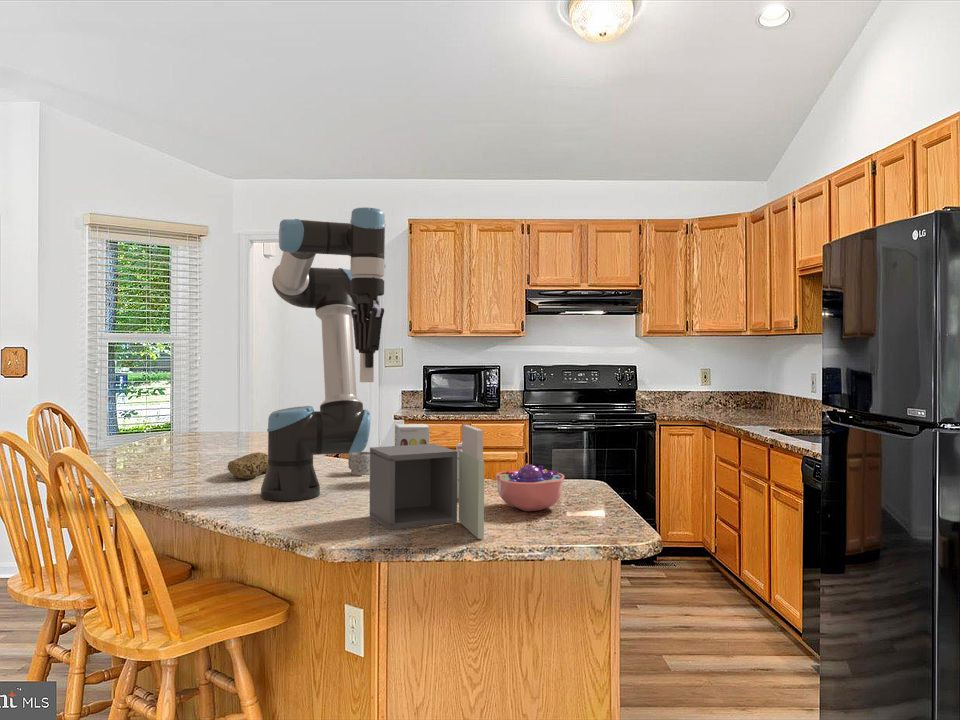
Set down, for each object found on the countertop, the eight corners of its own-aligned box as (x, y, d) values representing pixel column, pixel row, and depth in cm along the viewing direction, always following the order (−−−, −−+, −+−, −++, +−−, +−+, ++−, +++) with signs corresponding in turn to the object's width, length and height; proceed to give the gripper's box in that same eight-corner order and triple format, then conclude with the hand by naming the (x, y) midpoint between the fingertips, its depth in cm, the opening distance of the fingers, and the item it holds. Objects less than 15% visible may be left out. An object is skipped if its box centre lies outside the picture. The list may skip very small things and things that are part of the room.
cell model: (568, 502, 180) (569, 458, 180) (559, 520, 160) (560, 470, 160) (504, 498, 184) (504, 455, 184) (487, 515, 164) (487, 467, 164)
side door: (478, 538, 143) (478, 431, 142) (458, 521, 158) (459, 423, 157) (483, 538, 143) (484, 430, 143) (463, 520, 158) (464, 423, 158)
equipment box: (369, 515, 163) (369, 447, 163) (433, 509, 170) (433, 443, 170) (389, 529, 151) (389, 455, 150) (457, 522, 158) (457, 451, 158)
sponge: (252, 474, 226) (209, 470, 208) (259, 450, 227) (216, 444, 208) (284, 484, 221) (243, 482, 202) (291, 460, 222) (251, 455, 203)
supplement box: (396, 485, 200) (397, 426, 200) (393, 479, 209) (393, 423, 209) (430, 484, 203) (430, 426, 203) (424, 478, 212) (425, 423, 212)
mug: (377, 474, 219) (377, 453, 218) (359, 477, 214) (359, 455, 214) (357, 470, 225) (357, 450, 225) (340, 473, 221) (340, 452, 221)
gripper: (395, 277, 155) (394, 383, 155) (370, 280, 165) (369, 379, 166) (364, 275, 150) (363, 384, 151) (340, 278, 161) (340, 380, 162)
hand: (366, 382), depth 159 cm, fingers closed
